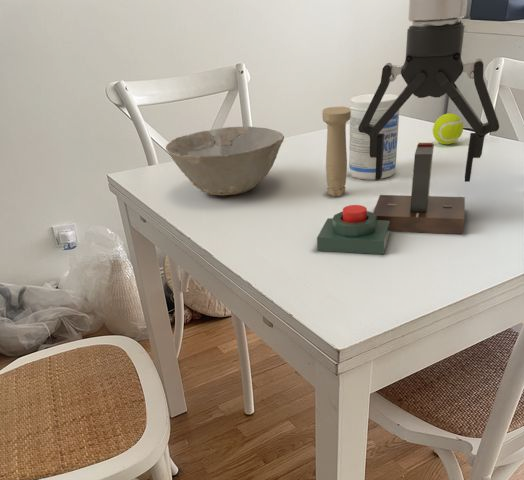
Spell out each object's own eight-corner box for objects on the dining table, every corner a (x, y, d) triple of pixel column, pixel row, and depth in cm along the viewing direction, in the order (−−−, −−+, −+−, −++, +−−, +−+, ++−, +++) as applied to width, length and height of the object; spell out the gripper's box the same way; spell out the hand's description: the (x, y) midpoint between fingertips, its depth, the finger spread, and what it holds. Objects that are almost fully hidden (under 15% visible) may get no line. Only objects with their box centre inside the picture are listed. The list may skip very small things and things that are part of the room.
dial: (426, 212, 85) (432, 152, 80) (409, 212, 86) (414, 152, 81) (428, 199, 90) (434, 142, 85) (412, 199, 91) (417, 142, 85)
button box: (389, 233, 86) (390, 209, 84) (383, 254, 80) (384, 229, 77) (327, 230, 89) (327, 207, 86) (317, 250, 83) (316, 226, 80)
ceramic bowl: (307, 190, 106) (306, 137, 101) (203, 219, 98) (195, 163, 92) (252, 167, 123) (248, 120, 117) (158, 190, 114) (149, 141, 108)
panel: (462, 211, 91) (464, 195, 90) (462, 234, 83) (464, 218, 82) (379, 208, 95) (379, 193, 94) (371, 230, 87) (371, 214, 86)
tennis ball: (460, 140, 128) (464, 110, 125) (462, 147, 123) (466, 116, 119) (431, 140, 130) (433, 111, 126) (431, 148, 125) (434, 117, 121)
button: (368, 216, 83) (368, 205, 82) (364, 224, 80) (364, 213, 79) (344, 215, 84) (345, 204, 83) (340, 223, 81) (340, 212, 80)
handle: (347, 188, 106) (348, 105, 97) (350, 198, 100) (352, 113, 92) (322, 189, 106) (321, 107, 98) (324, 200, 101) (324, 115, 92)
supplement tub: (390, 182, 107) (395, 102, 98) (343, 180, 110) (344, 102, 102) (399, 168, 114) (404, 92, 106) (354, 166, 117) (356, 93, 109)
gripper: (533, 13, 73) (505, 172, 85) (349, 25, 80) (347, 170, 92) (539, 18, 67) (508, 187, 79) (340, 30, 74) (339, 184, 86)
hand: (421, 178), depth 85 cm, fingers open, 13 cm apart
